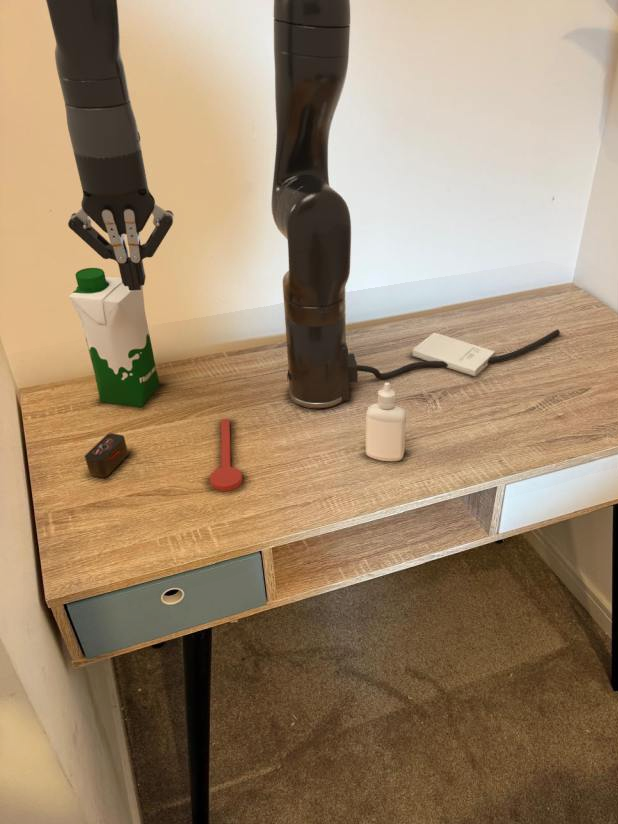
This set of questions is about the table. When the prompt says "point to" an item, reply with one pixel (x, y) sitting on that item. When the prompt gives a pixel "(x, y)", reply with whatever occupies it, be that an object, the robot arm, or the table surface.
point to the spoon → (225, 464)
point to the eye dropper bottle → (385, 427)
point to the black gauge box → (106, 455)
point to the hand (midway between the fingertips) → (135, 287)
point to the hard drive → (454, 353)
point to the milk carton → (116, 337)
